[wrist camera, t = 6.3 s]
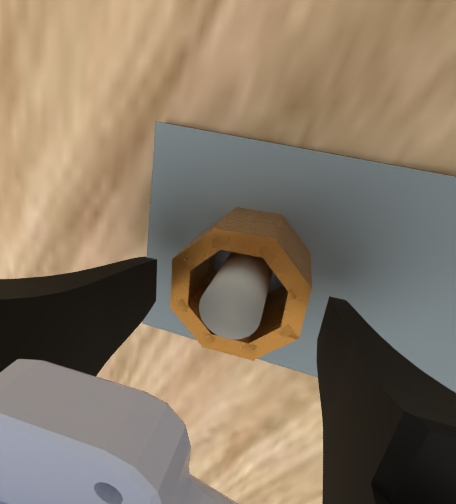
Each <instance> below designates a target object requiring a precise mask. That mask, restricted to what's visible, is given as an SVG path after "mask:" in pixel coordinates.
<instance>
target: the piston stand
mask: <svg viewBox="0 0 456 504" xmlns="http://www.w3.org/2000/svg"><path fill="white" fill-rule="evenodd" d="M236 207H240V208H246V209H252V210H258V211H263V212H269V213H275V214H281V215H282V214H283V215H284V217H285V218H286V220H287V221H288V222H289V224H290V225H291V226H292V228H293V229H294V231H295V232H296V233H297V235H298V236H299V238H300V239H301V240H302V242H303V243H304V245H305V246H306V247H307V249H308V250H309V251H310V254H311V276H312V290H311V293H310V297H309V301H308V305H307V309H306V313H305V317H304V321H303V325H302V329H301V333H300V339H299V340H296V341H294V342H291V343H289V344H287V345H285V346H283V347H281V348H278V349H276V350H274V351H272V352H270V353H268V354H266V355H263V356H261V357H259V358H257V359H260V360H263V361H266V362H269V363H273V364H276V365H279V366H282V367H286V368H289V369H292V370H295V371H299V372H302V373H305V374H308V375H312V376H315V377H318V372H317V362H316V361H317V338H318V335H319V331H320V328H321V324H322V321H323V317H324V313H325V310H326V306H327V303H328V299H329V296H330V297H334V298H339V299H344V300H346V301H348V302H349V303H350V304H351V306H352V307H353V308H354V309H355V310H356V311H357V312H358V313H359V314H360V315H361V316H362V317H363V318H364V320H365V321H366V322H367V323H368V324H369V325H370V326H371V327H372V328H373V329H374V330H375V331H376V332H377V333H378V334H379V335H380V336H381V337H382V338H383V339H384V340H385V341H387V342H388V343H389V344H390V345H391V346H392V347H393V348H394V349H395V350H397V351H398V352H399V353H400V354H401V355H403V356H404V357H405V358H406V359H408V360H409V361H410V362H412V363H413V364H414V365H415V366H417V367H418V368H419V369H421V370H422V371H424V372H425V373H426V374H428V375H429V376H431V377H432V378H434V379H435V380H437V381H438V382H440V383H441V384H443V385H444V386H446V387H447V388H449V389H450V390H452V391H454V392H455V393H456V176H451V175H445V174H440V173H434V172H429V171H424V170H418V169H413V168H407V167H402V166H396V165H391V164H386V163H380V162H375V161H369V160H364V159H358V158H353V157H348V156H342V155H337V154H331V153H326V152H320V151H315V150H310V149H304V148H299V147H293V146H288V145H282V144H277V143H271V142H266V141H261V140H255V139H250V138H244V137H239V136H233V135H228V134H223V133H217V132H212V131H206V130H201V129H195V128H190V127H185V126H179V125H174V124H168V123H162V122H156V123H155V139H154V154H153V170H152V185H151V201H150V216H149V232H148V247H147V257H148V258H152V259H157V289H156V302H155V303H154V305H153V307H152V308H151V310H150V311H149V313H148V314H147V316H146V317H145V319H144V320H143V324H146V325H149V326H153V327H156V328H159V329H162V330H166V331H169V332H172V333H175V334H179V335H182V336H185V337H188V338H192V339H195V340H196V338H195V337H194V336H193V335H192V333H191V332H190V331H189V330H188V329H187V327H186V326H185V325H184V324H183V323H182V321H181V320H180V319H179V318H178V316H177V315H176V314H175V313H174V312H173V310H172V309H171V308H170V299H171V277H172V258H173V257H175V256H176V255H177V254H178V253H179V252H180V251H181V250H183V249H184V248H185V247H186V246H187V245H188V244H189V243H191V242H192V241H193V240H194V239H195V238H196V237H197V236H199V235H200V234H201V233H202V232H203V231H205V230H207V229H208V228H209V227H211V226H212V225H213V224H215V223H216V222H217V221H219V220H220V219H221V218H223V217H224V216H226V215H227V214H228V213H230V212H231V211H232V210H233V209H234V208H236ZM214 269H215V271H216V272H217V274H216V276H215V277H214V279H213V280H212V282H211V283H210V285H209V286H208V288H207V289H206V291H205V292H204V294H203V295H202V297H201V299H200V303H199V312H200V316H201V319H202V321H203V322H204V324H205V325H206V326H207V328H208V329H209V330H210V331H212V332H213V333H215V334H216V335H218V336H220V337H223V338H226V339H235V340H236V339H243V338H246V337H248V336H250V335H251V334H253V333H254V332H255V331H256V329H257V328H258V326H259V324H260V321H261V317H262V313H263V309H264V305H265V301H266V297H267V295H268V294H270V293H271V292H273V291H275V290H277V289H279V288H280V287H282V286H284V285H283V284H282V283H281V281H280V280H279V279H278V277H277V276H276V275H275V273H274V272H273V271H272V269H271V268H270V267H269V265H268V264H267V263H266V261H265V260H264V259H263V258H261V257H256V256H251V255H246V254H241V253H236V252H231V251H226V250H219V251H218V252H216V255H215V264H214Z"/></svg>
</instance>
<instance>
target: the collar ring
mask: <svg viewBox="0 0 456 504" xmlns="http://www.w3.org/2000/svg"><path fill="white" fill-rule="evenodd" d="M219 250H226V251H231V252H236V253H241V254H246V255H251V256H256V257H261V258H263V259H264V260H265V261H266V263H267V264H268V265H269V267H270V268H271V269H272V271H273V272H274V273H275V275H276V276H277V277H278V279H279V280H280V281H281V283H282V284H283V285H284V286H282V287H280V288H279V289H277V290H275V291H273V292H271V293H270V294H268V295H267V297H266V301H265V305H264V309H263V313H262V317H261V321H260V324H259V326H258V328H257V329H256V331H255V332H254V333H253V334H251V335H250V336H248V337H246V338H243V339H236V340H235V339H226V338H223V337H220V336H218V335H216V334H215V333H213V332H212V331H210V330H209V329H208V328H207V326H206V325H205V324H204V322H203V321H202V319H201V316H200V312H199V303H200V299H201V297H202V295H203V294H204V292H205V291H206V289H207V288H208V286H209V285H210V283H211V282H212V280H213V279H214V277H215V276H216V274H217V272H216V271H215V269H214V264H215V255H216V252H218V251H219ZM311 290H312V276H311V254H310V251H309V250H308V249H307V247H306V246H305V245H304V243H303V242H302V240H301V239H300V238H299V236H298V235H297V233H296V232H295V231H294V229H293V228H292V226H291V225H290V224H289V222H288V221H287V220H286V218H285V217H284V215H283V214H282V215H281V214H275V213H269V212H263V211H258V210H252V209H246V208H240V207H236V208H234V209H233V210H232V211H231V212H230V213H228V214H227V215H226V216H224V217H223V218H221V219H220V220H219V221H217V222H216V223H215V224H213V225H212V226H211V227H209V228H208V229H207V230H205V231H203V232H202V233H201V234H200V235H199V236H197V237H196V238H195V239H194V240H193V241H192V242H191V243H189V244H188V245H187V246H186V247H185V248H184V249H183V250H181V251H180V252H179V253H178V254H177V255H176V256H175V257H173V258H172V277H171V299H170V308H171V309H172V310H173V312H174V313H175V314H176V315H177V316H178V318H179V319H180V320H181V321H182V323H183V324H184V325H185V326H186V327H187V329H188V330H189V331H190V332H191V333H192V335H193V336H194V337H195V338H196V340H197V341H198V342H199V343H200V344H201V346H202V347H205V348H209V349H213V350H216V351H220V352H224V353H228V354H231V355H235V356H239V357H243V358H247V359H250V360H252V361H253V360H255V359H257V358H259V357H261V356H263V355H266V354H268V353H270V352H272V351H274V350H276V349H278V348H281V347H283V346H285V345H287V344H289V343H291V342H294V341H296V340H299V339H300V333H301V329H302V325H303V321H304V317H305V313H306V309H307V305H308V301H309V297H310V293H311Z"/></svg>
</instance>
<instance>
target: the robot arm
mask: <svg viewBox="0 0 456 504" xmlns="http://www.w3.org/2000/svg"><path fill="white" fill-rule="evenodd" d="M156 289H157V259H152V258H148V257H138V258H133V259H128V260H124V261H120V262H116V263H112V264H108V265H104V266H100V267H96V268H91V269H87V270H82V271H78V272H72V273H67V274H60V275H53V276H45V277H33V278H21V279H0V504H238V503H236V502H235V501H233V500H231V499H230V498H228V497H226V496H225V495H223V494H222V493H220V492H218V491H217V490H215V489H213V488H212V487H210V486H208V485H207V484H205V483H204V482H202V481H200V480H199V479H197V478H195V477H194V476H192V475H191V474H189V460H190V450H191V445H190V441H189V437H188V433H187V429H186V425H185V424H184V422H183V421H182V420H181V418H180V417H179V416H178V415H177V414H176V413H175V412H174V410H173V409H172V408H171V407H170V406H169V405H168V404H167V403H166V402H164V401H162V400H160V399H158V398H156V397H154V396H152V395H150V394H148V393H147V392H145V391H141V390H138V389H135V388H132V387H128V386H125V385H122V384H118V383H115V382H112V381H109V380H105V379H102V378H99V377H96V375H97V374H98V373H99V371H100V370H101V369H102V367H103V366H104V364H105V363H106V362H107V361H108V359H109V358H110V357H111V356H112V355H113V353H114V352H115V351H116V350H117V349H118V348H119V347H120V346H121V345H122V343H123V342H124V341H125V340H126V339H127V338H128V337H129V336H130V335H131V333H132V332H133V331H134V330H135V329H136V328H137V327H138V326H139V324H140V323H141V322H142V321H143V320H144V319H145V317H146V316H147V314H148V313H149V311H150V310H151V308H152V307H153V305H154V303H155V302H156ZM316 362H317V372H318V381H319V390H320V399H321V408H322V418H323V504H456V393H455V392H454V391H452V390H450V389H449V388H447V387H446V386H444V385H443V384H441V383H440V382H438V381H437V380H435V379H434V378H432V377H431V376H429V375H428V374H426V373H425V372H424V371H422V370H421V369H419V368H418V367H417V366H415V365H414V364H413V363H412V362H410V361H409V360H408V359H406V358H405V357H404V356H403V355H401V354H400V353H399V352H398V351H397V350H395V349H394V348H393V347H392V346H391V345H390V344H389V343H388V342H387V341H385V340H384V339H383V338H382V337H381V336H380V335H379V334H378V333H377V332H376V331H375V330H374V329H373V328H372V327H371V326H370V325H369V324H368V323H367V322H366V321H365V320H364V318H363V317H362V316H361V315H360V314H359V313H358V312H357V311H356V310H355V309H354V308H353V307H352V306H351V304H350V303H349V302H348V301H346V300H344V299H339V298H334V297H330V296H329V299H328V303H327V306H326V310H325V313H324V317H323V321H322V324H321V328H320V331H319V335H318V338H317V361H316Z"/></svg>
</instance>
